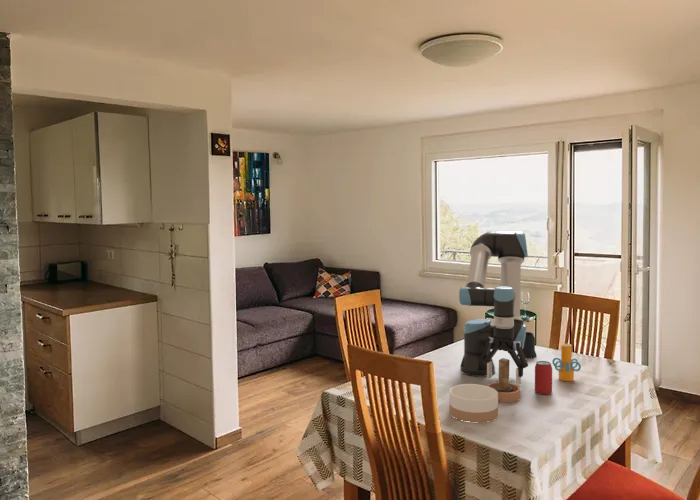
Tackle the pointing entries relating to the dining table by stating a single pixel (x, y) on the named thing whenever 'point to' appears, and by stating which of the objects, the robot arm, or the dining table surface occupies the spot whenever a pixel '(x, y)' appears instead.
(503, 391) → the clip
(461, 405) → the bowl
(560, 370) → the cylinder
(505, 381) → the tall wooden post
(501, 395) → the shallow terracotta dish
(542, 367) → the beer can
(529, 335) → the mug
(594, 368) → the dining table surface
